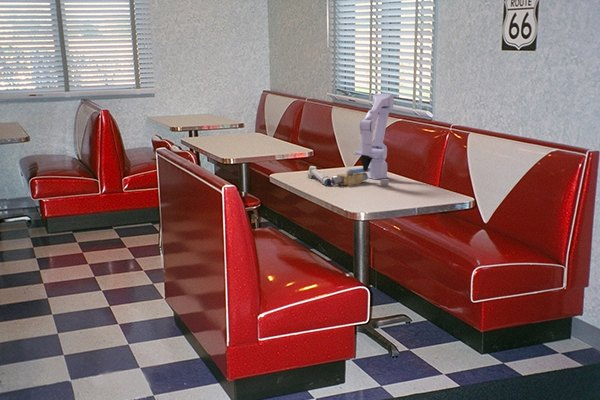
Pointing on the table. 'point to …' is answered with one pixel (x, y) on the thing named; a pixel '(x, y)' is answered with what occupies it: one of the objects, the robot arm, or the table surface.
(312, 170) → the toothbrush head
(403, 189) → the table surface
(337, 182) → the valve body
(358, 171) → the lever
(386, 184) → the pvc end cap
